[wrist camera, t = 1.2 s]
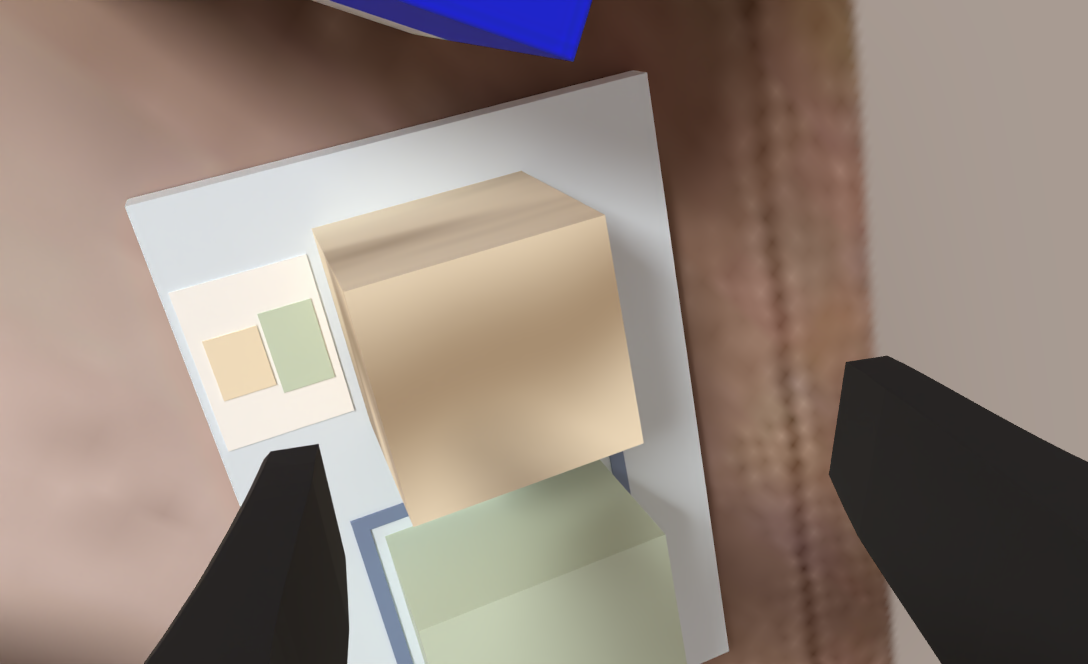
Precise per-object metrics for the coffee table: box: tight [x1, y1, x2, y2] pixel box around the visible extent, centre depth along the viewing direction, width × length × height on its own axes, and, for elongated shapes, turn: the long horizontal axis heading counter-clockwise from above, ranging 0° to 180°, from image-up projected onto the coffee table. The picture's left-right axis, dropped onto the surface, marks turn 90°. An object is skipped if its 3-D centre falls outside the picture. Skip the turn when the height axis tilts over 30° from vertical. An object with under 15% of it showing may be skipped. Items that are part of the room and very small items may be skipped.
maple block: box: [312, 171, 644, 527], centre depth 20 cm, size 5×5×5 cm
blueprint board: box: [125, 70, 729, 664], centre depth 24 cm, size 18×12×1 cm, turn 11°
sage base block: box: [385, 459, 687, 664], centre depth 24 cm, size 6×6×4 cm
